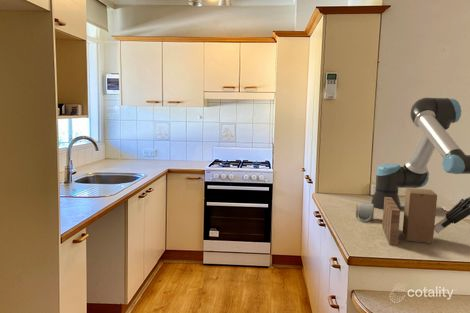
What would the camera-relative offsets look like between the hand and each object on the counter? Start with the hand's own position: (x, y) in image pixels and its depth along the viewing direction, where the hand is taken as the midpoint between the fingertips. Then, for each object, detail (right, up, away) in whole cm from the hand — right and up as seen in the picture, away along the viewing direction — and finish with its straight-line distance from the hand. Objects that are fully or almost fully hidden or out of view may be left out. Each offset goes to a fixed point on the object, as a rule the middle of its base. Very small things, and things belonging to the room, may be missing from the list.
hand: (434, 230), depth 157 cm
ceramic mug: (-19, -1, +29) cm, 34 cm away
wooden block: (-6, -4, +3) cm, 8 cm away
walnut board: (-16, -3, +5) cm, 18 cm away
